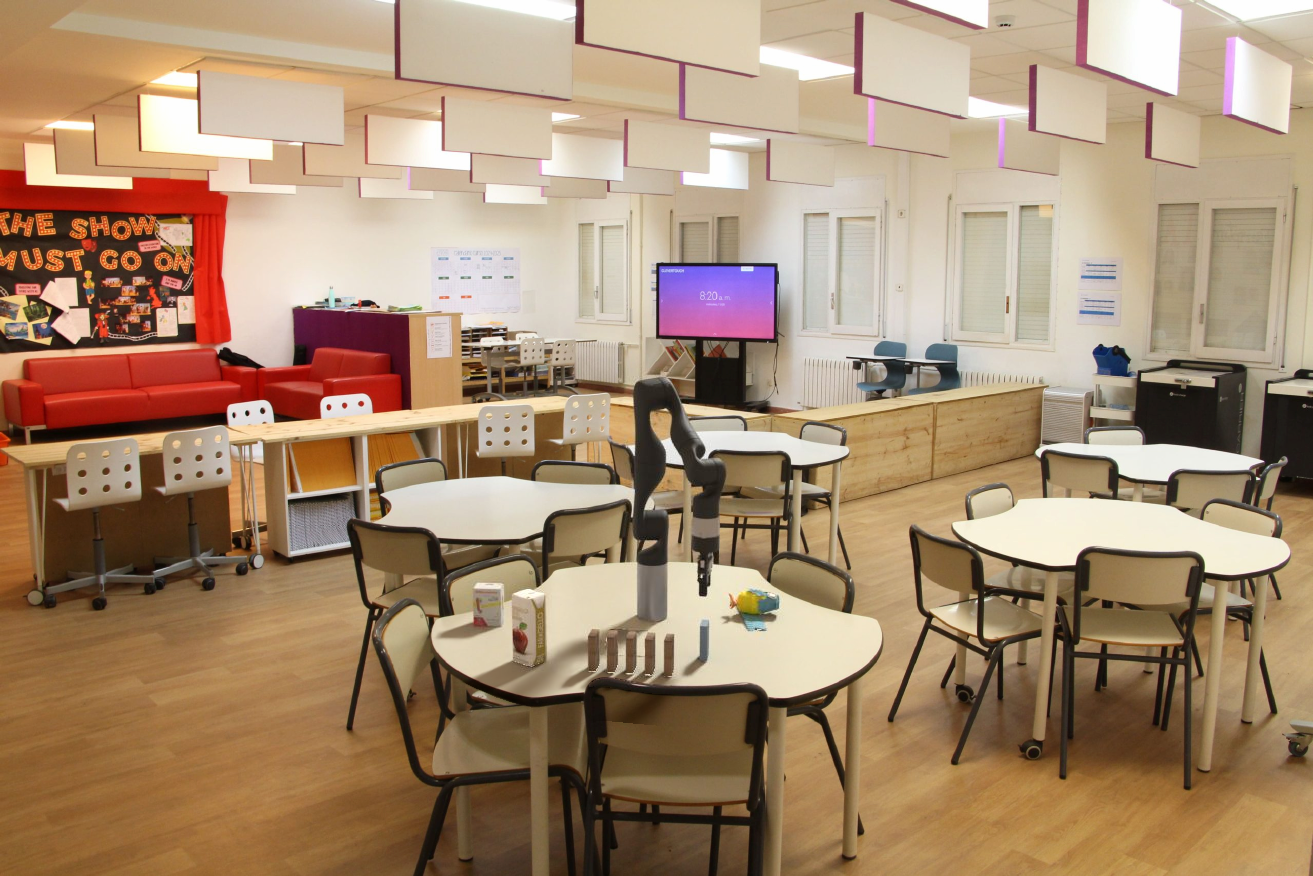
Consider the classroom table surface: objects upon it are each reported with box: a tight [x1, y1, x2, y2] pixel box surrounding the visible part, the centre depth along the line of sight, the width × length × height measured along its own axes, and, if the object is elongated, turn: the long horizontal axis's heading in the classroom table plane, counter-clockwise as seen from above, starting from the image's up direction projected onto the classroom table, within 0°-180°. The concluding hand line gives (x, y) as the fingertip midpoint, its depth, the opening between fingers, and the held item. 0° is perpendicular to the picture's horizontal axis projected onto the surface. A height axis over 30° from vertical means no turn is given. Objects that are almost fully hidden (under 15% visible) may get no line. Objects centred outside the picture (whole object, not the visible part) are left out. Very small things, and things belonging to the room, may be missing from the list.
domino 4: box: [644, 631, 656, 675], centre depth 257 cm, size 5×2×10 cm, turn 171°
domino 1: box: [587, 628, 601, 672], centre depth 259 cm, size 5×2×10 cm, turn 171°
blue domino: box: [699, 619, 710, 662], centre depth 267 cm, size 5×2×10 cm, turn 171°
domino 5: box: [663, 633, 675, 677], centre depth 256 cm, size 5×2×10 cm, turn 171°
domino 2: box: [606, 630, 619, 673], centre depth 259 cm, size 5×2×10 cm, turn 171°
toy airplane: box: [728, 588, 780, 632], centre depth 302 cm, size 28×9×15 cm
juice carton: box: [511, 588, 548, 667], centre depth 263 cm, size 8×9×19 cm
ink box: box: [472, 582, 505, 627], centre depth 292 cm, size 9×5×12 cm, turn 87°
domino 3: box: [625, 630, 638, 674], centre depth 258 cm, size 5×2×10 cm, turn 171°
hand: (704, 591), depth 265 cm, fingers open, 8 cm apart
